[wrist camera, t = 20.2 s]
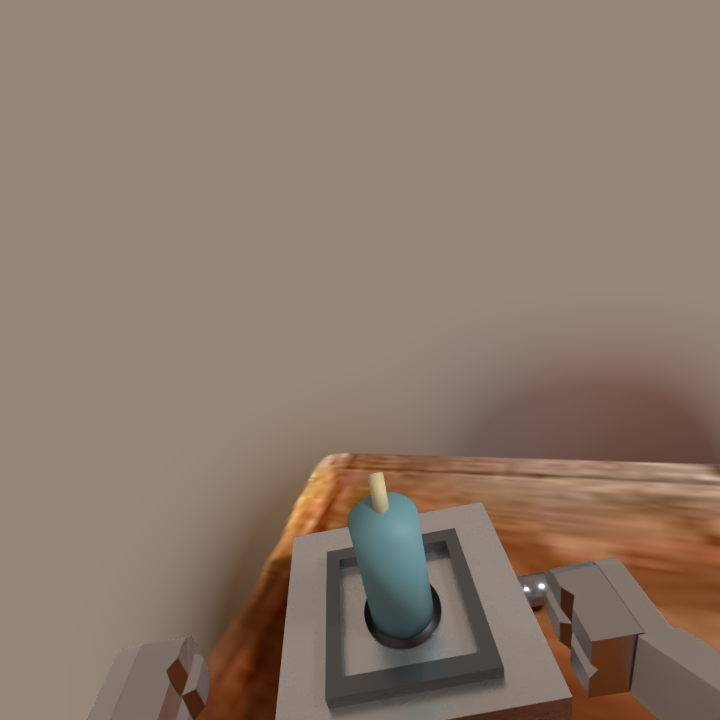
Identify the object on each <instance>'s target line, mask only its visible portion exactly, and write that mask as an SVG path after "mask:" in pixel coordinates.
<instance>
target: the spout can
mask: <svg viewBox="0 0 720 720" xmlns="http://www.w3.org/2000/svg"><path fill="white" fill-rule="evenodd" d="M368 481H369V487H370V492H371V495H370V496H368V497H366V498H364V499H362V500H361V501H359V502H358V503H357V504H356V505H355V506H354V507H353V509H352V510H351V512H350V514H349V517H348V528H349V532H350V536H351V540H352V544H353V548H354V551H355V555H356V559H357V563H358V567H359V571H360V574H361V578H362V582H363V586H364V590H365V594H366V597H367V601H368V605H369V609H370V613H371V617H372V620H373V622H374V625H375V626H376V628H377V629H378V630H379V631H380V632H381V633H382V634H384V635H385V636H387V637H389V638H392V639H397V640H405V639H410V638H413V637H415V636H417V635H419V634H420V633H422V632H423V631H424V630H425V629H426V628H427V627H428V625H429V624H430V622H431V619H432V616H433V611H434V606H433V600H432V594H431V588H430V582H429V576H428V570H427V564H426V558H425V552H424V546H423V540H422V534H421V528H420V522H419V517H418V511H417V508H416V506H415V504H414V503H413V502H412V501H411V500H410V499H409V498H408V497H406V496H404V495H401V494H398V493H393V492H386V487H385V482H384V477H383V473H382V472H380V473H374V474H370V475H368Z"/></svg>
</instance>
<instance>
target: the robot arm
mask: <svg viewBox="0 0 720 720" xmlns="http://www.w3.org/2000/svg"><path fill="white" fill-rule="evenodd" d="M546 582H547V584H548V586H549V588H550V591H549V592H548V593H547V594H546V604H547V609H548V613H549V617H550V620H551V623H552V625H553V628H554V630H555V632H556V634H557V636H558V638H559V640H560V642H561V643H563V644H564V645H565V646H567V647H568V648H569V649H571V665H572V667H573V669H574V671H575V673H576V675H577V677H578V679H579V681H580V683H581V685H582V687H583V688H584V690H585V692H586V694H587V696H588V698H590V697H597V696H604V695H611V694H618V693H624V692H630V694H631V695H632V696H633V697H634V698H635V699H636V700H637V701H638V702H640V703H641V704H642V705H643V706H644V707H645V708H646V709H648V710H649V711H650V712H651V713H652V714H653V715H654V716H656V717H657V718H658V719H659V720H720V652H719V651H718V650H716V649H714V648H713V647H711V646H709V645H708V644H706V643H704V642H703V641H701V640H699V639H698V638H696V637H695V636H693V635H691V634H690V633H688V632H686V631H685V630H683V629H681V628H673V629H672V627H671V626H670V625H669V623H668V622H667V621H666V619H665V618H664V617H663V616H662V614H661V613H660V612H659V610H658V609H657V608H656V606H655V605H654V604H653V603H652V601H651V600H650V599H649V597H648V596H647V595H646V593H645V592H644V591H643V590H642V588H641V587H640V586H639V584H638V583H637V582H636V580H635V579H634V578H633V577H632V575H631V574H630V573H629V571H628V570H627V569H626V567H625V566H624V565H623V563H622V562H621V561H620V560H618V559H617V558H608V559H603V560H599V561H594V562H590V561H589V562H584V563H579V564H574V565H570V566H565V567H560V568H555V569H550V570H548V571H547V573H546ZM196 648H197V644H196V642H195V641H194V639H193V637H192V636H191V637H185V638H179V639H173V640H167V641H161V642H155V643H149V644H142V645H137V646H131V647H125V648H123V649H122V650H121V651H120V652H119V653H118V655H117V656H116V657H115V659H114V662H113V664H112V666H111V668H110V671H109V673H108V675H107V677H106V679H105V681H104V684H103V686H102V688H101V691H100V693H99V695H98V697H97V699H96V701H95V703H94V706H93V708H92V710H91V712H90V715H89V717H88V719H87V720H195V719H196V718H197V716H198V715H199V714H200V712H201V711H202V710H203V708H204V707H205V705H206V701H207V696H208V691H209V670H208V665H207V663H206V661H205V659H204V658H203V657H202V656H199V655H197V654H196V653H195V652H196Z"/></svg>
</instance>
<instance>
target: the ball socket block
mask: <svg viewBox="0 0 720 720" xmlns="http://www.w3.org/2000/svg"><path fill="white" fill-rule="evenodd" d="M418 517H419V522H420V528H421V534H422V540H423V546H424V552H425V558H426V564H427V570H428V576H429V582H430V588H431V594H432V600H433V606H434V611H433V616H432V619H431V622H430V624H429V625H428V627H427V628H426V629H425V630H424V631H423V632H422V633H420V634H419V635H417V636H415V637H413V638H410V639H405V640H397V639H392V638H389V637H387V636H385V635H384V634H382V633H381V632H380V631H379V630H378V629H377V628H376V626H375V625H374V622H373V620H372V617H371V613H370V609H369V605H368V601H367V597H366V594H365V590H364V586H363V582H362V578H361V574H360V571H359V567H358V563H357V559H356V555H355V551H354V548H353V544H352V540H351V536H350V532H349V528H348V527H346V528H340V529H335V530H329V531H324V532H319V533H313V534H308V535H303V536H297V537H294V542H293V552H292V562H291V571H290V581H289V591H288V600H287V610H286V620H285V630H284V639H283V649H282V659H281V668H280V678H279V688H278V697H277V707H276V717H275V720H572V698H573V697H572V695H571V693H570V690H569V688H568V686H567V684H566V682H565V680H564V678H563V675H562V673H561V671H560V669H559V667H558V665H557V663H556V660H555V658H554V656H553V654H552V652H551V650H550V647H549V645H548V643H547V641H546V639H545V637H544V635H543V632H542V630H541V628H540V626H539V624H538V622H537V620H536V617H535V615H534V613H533V611H532V609H531V607H535V606H540V605H546V594H547V593H548V592H549V591H550V588H549V586H548V584H547V582H546V573H547V571H546V572H540V573H535V574H529V575H524V576H518V577H516V574H515V572H514V570H513V568H512V566H511V564H510V562H509V559H508V557H507V555H506V553H505V551H504V549H503V547H502V544H501V542H500V540H499V538H498V536H497V534H496V532H495V529H494V527H493V525H492V523H491V521H490V519H489V516H488V514H487V512H486V510H485V508H484V506H483V504H482V502H479V503H474V504H469V505H463V506H458V507H453V508H447V509H442V510H437V511H431V512H426V513H420V514H418Z"/></svg>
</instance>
